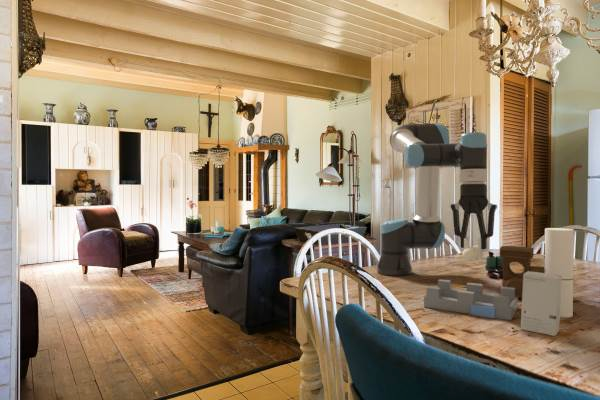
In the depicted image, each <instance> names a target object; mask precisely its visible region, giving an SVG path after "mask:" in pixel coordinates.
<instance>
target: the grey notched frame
mask: <svg viewBox="0 0 600 400" xmlns="http://www.w3.org/2000/svg"><path fill="white" fill-rule="evenodd" d="M518 303H519V298H518V297H515V288H511V287H502V286H501V287H500V293H499V294H494V293H485V292H484V284H482V283H476V282H467V283H466V290H463V289H455V288H452V280H450V279H438V280H437V286H427V287H426V294H425V295H424V296H423V307H424V308H430V309H435V310H443V311H448V310H449V312H454V311H455V313H461V314H466V315H467V314H469V315H471V316H477V317H483V318H484V317H485V318H489V319H500V320H507V321H512V319H513V318H514V315H515V314H516V312H517V310H518V305H519V304H518Z"/></svg>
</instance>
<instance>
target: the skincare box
mask: <svg viewBox="0 0 600 400" xmlns="http://www.w3.org/2000/svg"><path fill="white" fill-rule="evenodd" d="M561 285H562V276H559V275H553V274H547V273H539V272H531V271H527V272H526V273H524V275H523V292H522V298H521V314H520V329H521V330H522V331H527V332H533V333H538V334H544V335H548V336H552V337H555V336H557V334H558V332H559V331H560V320H561V319H560V318H561V317H560V304H561Z"/></svg>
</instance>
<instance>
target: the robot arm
mask: <svg viewBox="0 0 600 400" xmlns="http://www.w3.org/2000/svg"><path fill="white" fill-rule="evenodd" d="M459 139H460V140H459V143H450V135H449V130H448V128H447V127H446V125H444V124H442V123H435V122H434V123H407V124H403V125H401V126H398V127H397V128H395V129H394V130H393V131H392V132H391V134H390V136H389V144H390V147H391V148H392V149H393V150H394V151H396V152H397V153H401V154H403V159H404V163H405V165H406V166H407V167H414V168H418V170H417V194H416V195H417V196H416V197H417V199H416V214H415V215H414V216H413V217H412V222H411V221H410V222H409V220H408V219H407V218H401V219H400V218H398V219H390V220H389V219H388V220H385V221H383V222H382V223H381V226H380V258H379V260H378V264H377V266H376V267H377V268H376V272H377V273H378V274H381V275H385V276H394V277H395V276H398V277H401V276H403V277H404V276H409V275H412V274H413V267H412V264H411V261H410V257H409V249H410V250H412V249H413V250H414V249H415V250H416V249H418V250H421V249H422V250H423V249H426V250H432V249H439V248H440V247H441V246H442V245H443V243H444V240H445V236H446V230H445V229H446V228H445V227H446V226H445V224H444V222H442V221H441V218H440V217H439V215H438V206H439V183H440V182H439V181H440V167H454V168H459V169H460V171H459V172H460V173H459V175H460V180H459V181H460V183H462V184H460V188H459V189H460V190H459V196H460V197H459V200H458V202H456V203H452V204H450V209H451V210H452V218H453V219H452V220H453V232H454V233H453V235H455V236H457V237H459V238H460V248H461V249H463V251H464V250H465V249H467V248H470V247H469V245H470V237H468V236H467V234H468V229H469V223H470V217H471V214H475V216H476V219H477V223H478V229H479V234H480V237H479V238H478V240H477V241H478V243H477V245H478V257H477V260H478V261H483V260H484V250H486V249H487V239H488V238H491V237H493V236H494V229H495V215H496V214H495V213H496V211H497V208H498V205H497V204H495V203H494V204H493V203H491V202H489V200H488V197H487V192H488V189H487V188H488V187H487V186H488V185H487V184H486V182H488V178H487V177H488V176H487V175H488V174H487V173H488V171H487V169H488V168H487V167H488V166H487V163H488V162H487V159H488V157H487V155H488V154H487V153H488V150H487V149H488V141H487V135H486V133H484V132H480V131H479V132H466V133H465V132H464V133H462V134H461V135H460V138H459ZM460 207H461V209H462V210H463V219H462V224H460V223H461V222H460V211H459V210H460ZM486 207H487V210H488V216H487V217H488V219H487V220H488V221H487V222H488V223H487V231H486V224H485V219H484V212H483V211H484V210H485V209H486Z"/></svg>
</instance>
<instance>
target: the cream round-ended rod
mask: <svg viewBox="0 0 600 400" xmlns="http://www.w3.org/2000/svg"><path fill="white" fill-rule="evenodd" d="M461 254H462V258H463V259H464V260H466V261H472V260H474V259H476V258H478V244H476V245H471V246H470V247H469V248H467V249H465V250H464V249H463V251H462V253H461Z"/></svg>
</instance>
